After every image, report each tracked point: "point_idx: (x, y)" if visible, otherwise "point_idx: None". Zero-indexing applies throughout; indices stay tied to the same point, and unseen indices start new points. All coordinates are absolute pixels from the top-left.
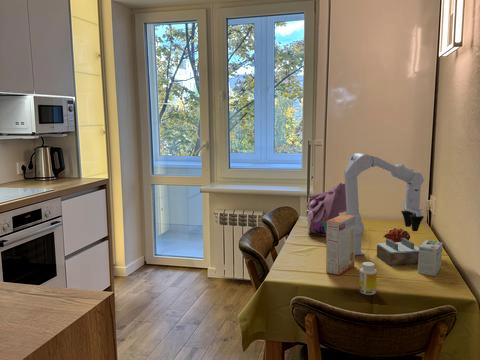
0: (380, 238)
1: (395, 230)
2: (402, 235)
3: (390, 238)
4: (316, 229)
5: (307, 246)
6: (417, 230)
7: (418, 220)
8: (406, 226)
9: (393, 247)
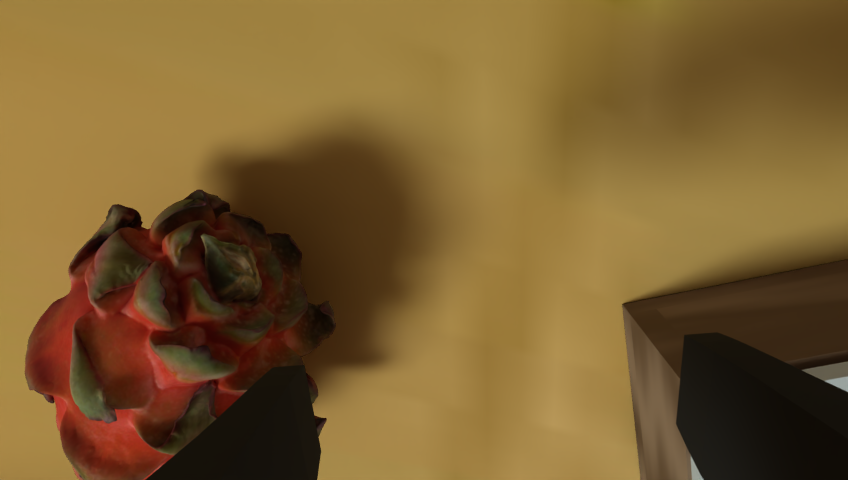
0: (7, 418)
1: (163, 461)
2: (270, 352)
3: None
4: None
5: None
6: (733, 344)
7: None
8: (319, 450)
9: None
